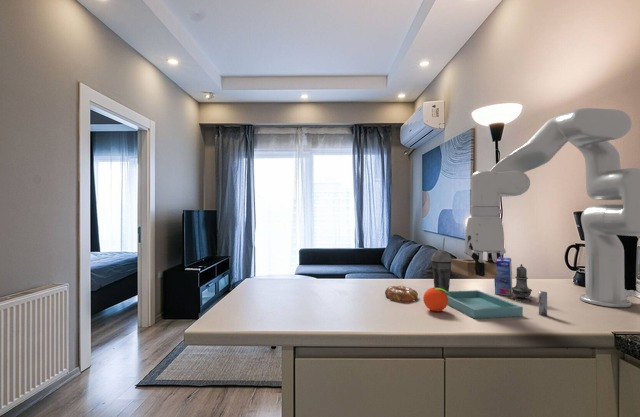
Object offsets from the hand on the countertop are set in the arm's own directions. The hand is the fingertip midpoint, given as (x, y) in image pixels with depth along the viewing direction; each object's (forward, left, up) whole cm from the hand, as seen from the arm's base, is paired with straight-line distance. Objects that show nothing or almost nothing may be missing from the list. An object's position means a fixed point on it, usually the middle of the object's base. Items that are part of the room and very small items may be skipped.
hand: (484, 274), depth 97 cm
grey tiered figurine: (-20, -10, -11) cm, 25 cm away
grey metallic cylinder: (-14, +5, -11) cm, 19 cm away
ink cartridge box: (-21, -20, -11) cm, 31 cm away
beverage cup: (+2, -22, -11) cm, 24 cm away
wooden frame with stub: (0, -4, -1) cm, 4 cm away
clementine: (+14, -3, -11) cm, 18 cm away
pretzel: (+18, -18, -11) cm, 28 cm away
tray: (0, -5, -11) cm, 12 cm away
